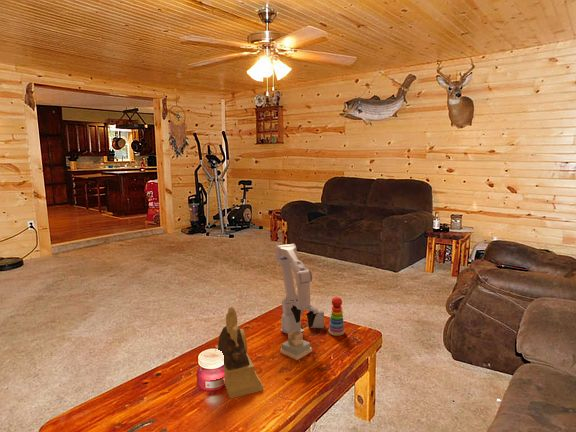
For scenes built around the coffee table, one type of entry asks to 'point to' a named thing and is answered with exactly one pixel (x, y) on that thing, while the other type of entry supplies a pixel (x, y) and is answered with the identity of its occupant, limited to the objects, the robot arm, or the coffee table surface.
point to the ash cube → (295, 338)
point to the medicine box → (319, 319)
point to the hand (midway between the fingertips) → (304, 324)
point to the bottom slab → (295, 355)
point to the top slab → (296, 347)
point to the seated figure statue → (237, 359)
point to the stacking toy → (336, 318)
